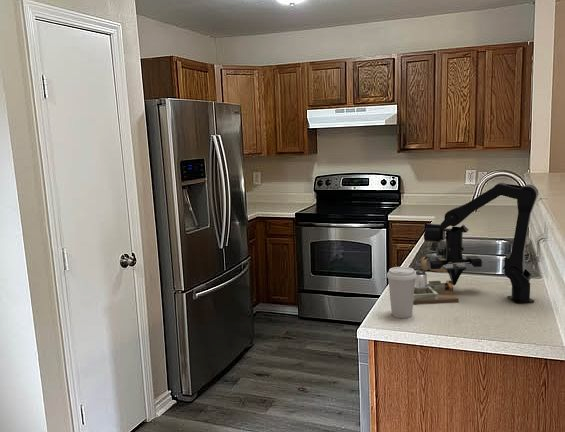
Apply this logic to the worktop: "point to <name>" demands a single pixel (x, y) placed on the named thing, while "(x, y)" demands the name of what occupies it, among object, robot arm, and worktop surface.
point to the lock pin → (447, 285)
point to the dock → (435, 295)
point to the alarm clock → (425, 267)
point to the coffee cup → (401, 291)
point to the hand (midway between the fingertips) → (453, 285)
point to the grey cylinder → (421, 282)
